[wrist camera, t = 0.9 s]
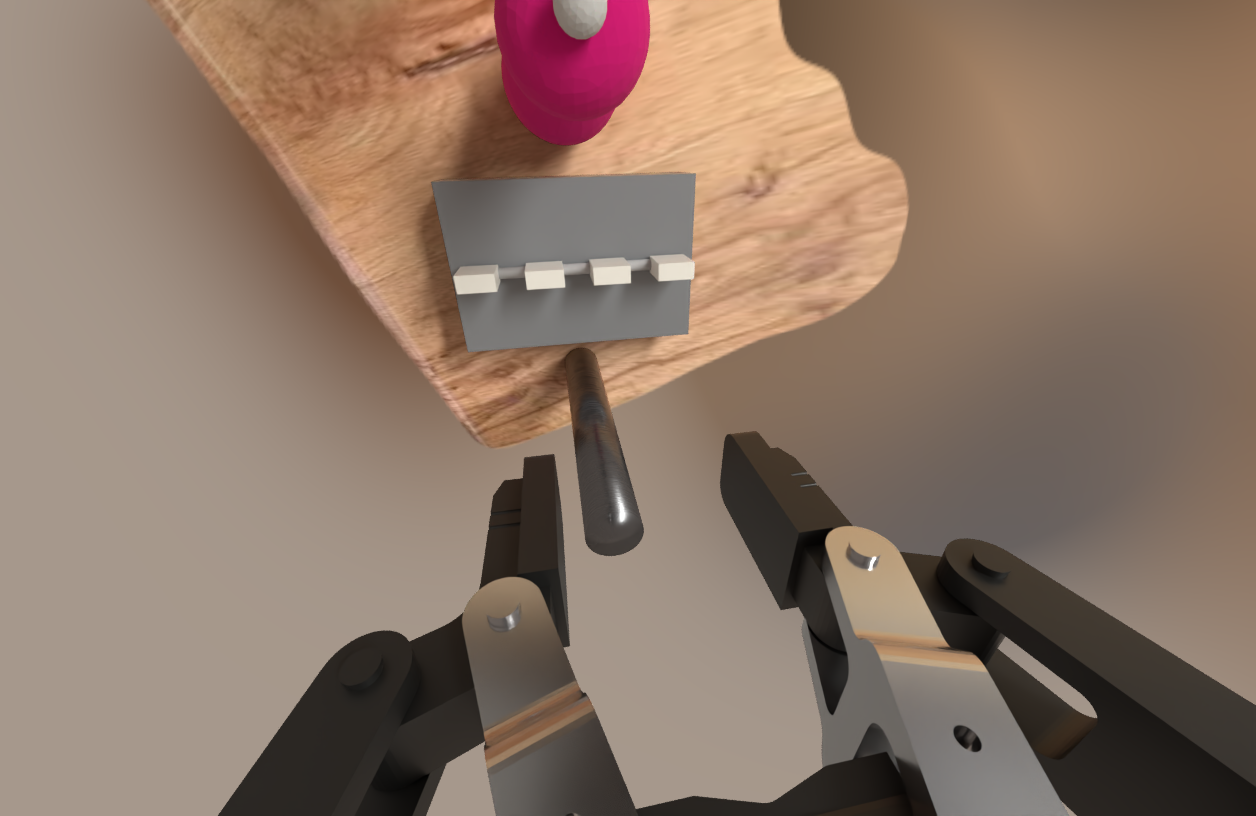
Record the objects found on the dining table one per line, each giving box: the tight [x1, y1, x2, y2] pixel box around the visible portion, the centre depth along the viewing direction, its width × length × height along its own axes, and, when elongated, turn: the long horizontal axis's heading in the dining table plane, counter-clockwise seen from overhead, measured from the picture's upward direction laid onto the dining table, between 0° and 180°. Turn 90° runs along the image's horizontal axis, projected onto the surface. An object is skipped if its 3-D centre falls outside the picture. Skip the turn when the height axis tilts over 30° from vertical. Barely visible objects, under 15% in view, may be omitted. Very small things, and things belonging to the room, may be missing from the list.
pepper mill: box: [494, 0, 650, 145], centre depth 22 cm, size 7×7×20 cm
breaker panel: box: [431, 172, 696, 352], centre depth 35 cm, size 12×18×4 cm, turn 91°
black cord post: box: [565, 348, 644, 556], centre depth 32 cm, size 3×3×22 cm
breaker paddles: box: [453, 254, 695, 294], centre depth 32 cm, size 1×16×3 cm, turn 91°
